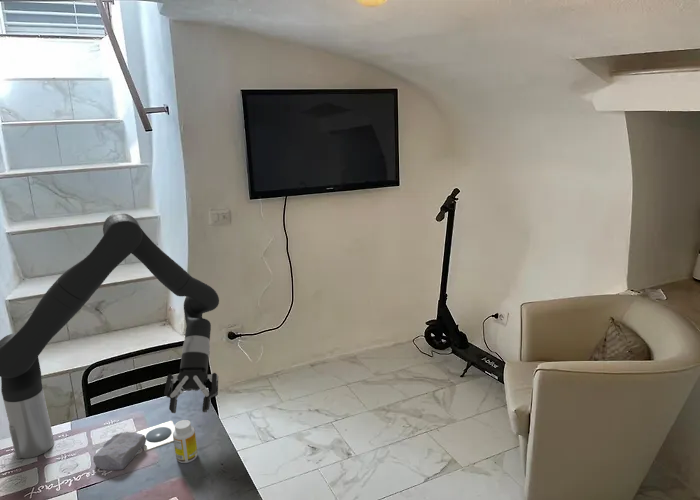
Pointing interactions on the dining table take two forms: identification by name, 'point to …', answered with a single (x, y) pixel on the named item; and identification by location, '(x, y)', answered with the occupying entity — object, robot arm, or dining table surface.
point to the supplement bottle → (185, 441)
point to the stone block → (119, 451)
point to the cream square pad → (158, 435)
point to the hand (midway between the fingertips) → (188, 412)
